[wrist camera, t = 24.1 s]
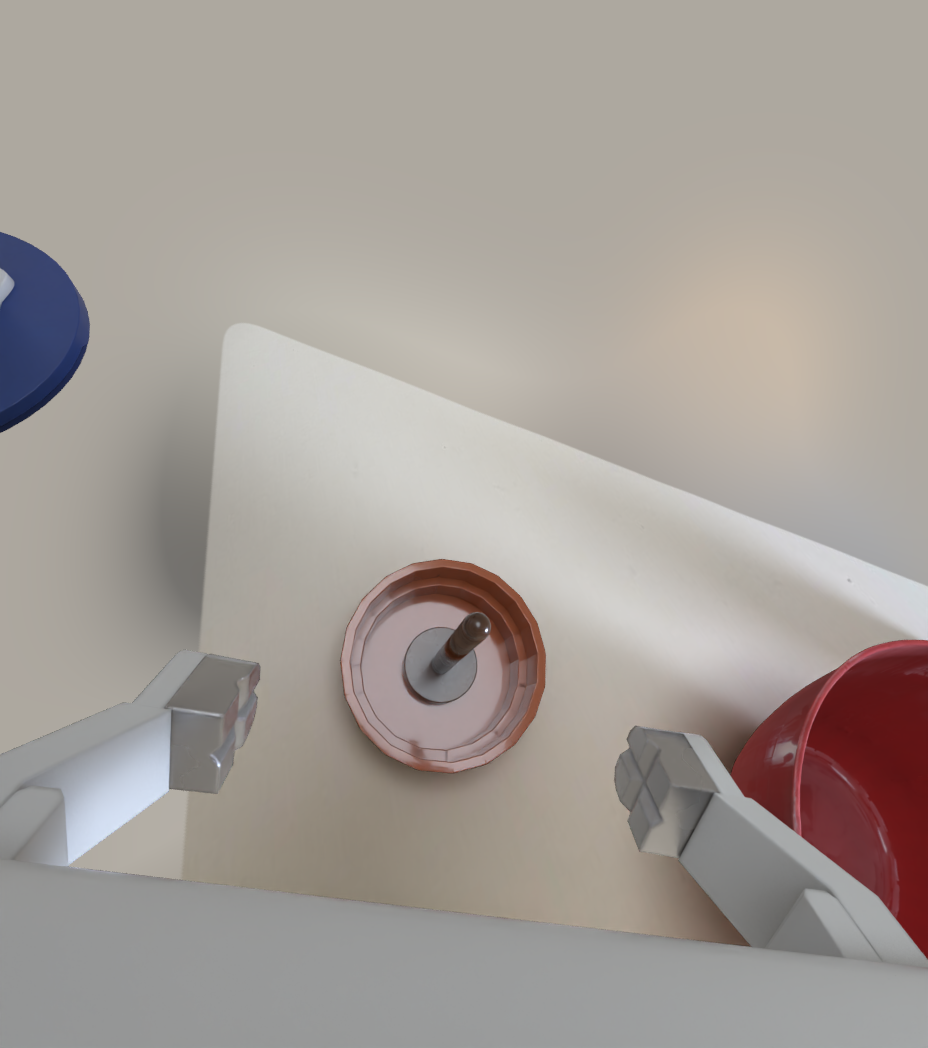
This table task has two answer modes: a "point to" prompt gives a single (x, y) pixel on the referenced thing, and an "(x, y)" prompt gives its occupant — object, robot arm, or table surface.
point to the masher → (445, 660)
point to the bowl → (496, 694)
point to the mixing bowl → (855, 773)
